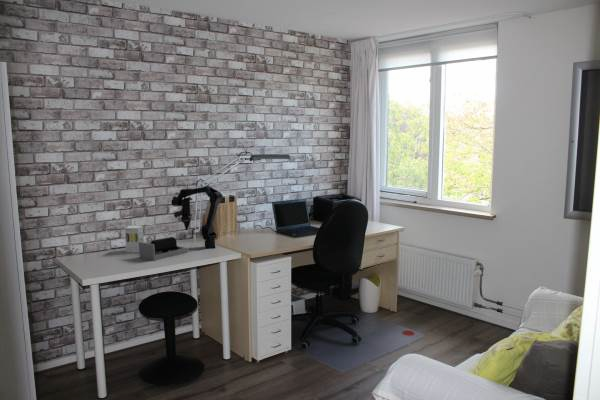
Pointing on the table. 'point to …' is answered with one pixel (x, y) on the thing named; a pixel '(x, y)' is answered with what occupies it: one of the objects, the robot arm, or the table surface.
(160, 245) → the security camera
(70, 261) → the table surface
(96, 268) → the table surface
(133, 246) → the supplement box
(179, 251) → the case
